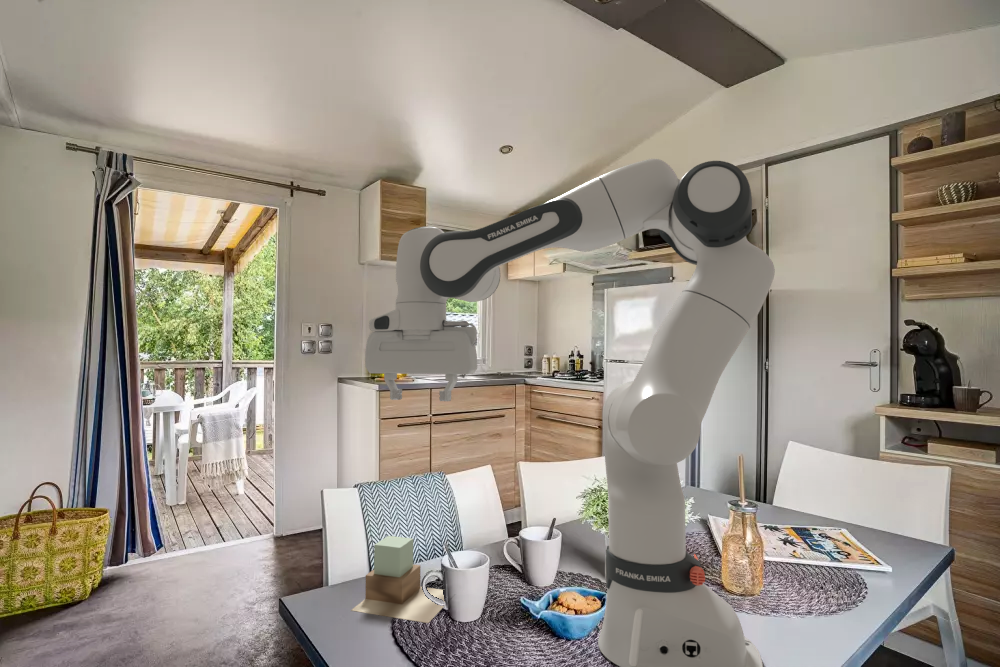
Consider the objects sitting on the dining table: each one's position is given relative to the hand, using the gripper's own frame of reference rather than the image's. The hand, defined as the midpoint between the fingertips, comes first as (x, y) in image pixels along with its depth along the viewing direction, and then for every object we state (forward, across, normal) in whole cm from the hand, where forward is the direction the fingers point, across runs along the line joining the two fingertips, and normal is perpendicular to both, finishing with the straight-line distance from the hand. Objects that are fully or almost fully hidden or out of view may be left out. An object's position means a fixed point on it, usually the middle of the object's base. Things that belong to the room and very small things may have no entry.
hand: (420, 400), depth 96 cm
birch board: (+35, +2, +1) cm, 35 cm away
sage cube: (+30, +5, -1) cm, 31 cm away
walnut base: (+34, +5, -1) cm, 35 cm away
